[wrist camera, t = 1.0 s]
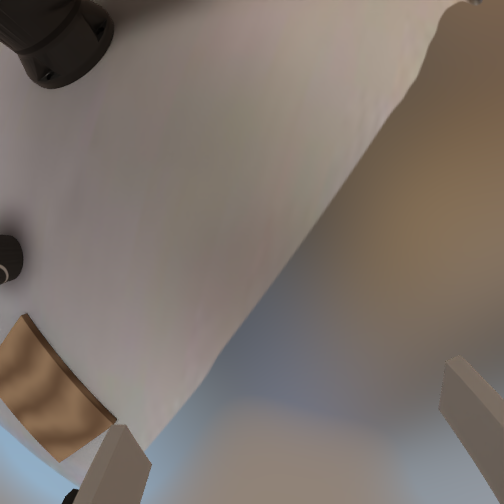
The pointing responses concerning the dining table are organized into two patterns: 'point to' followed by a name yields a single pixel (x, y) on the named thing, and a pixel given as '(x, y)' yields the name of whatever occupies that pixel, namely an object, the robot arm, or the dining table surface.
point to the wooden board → (47, 393)
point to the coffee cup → (10, 258)
